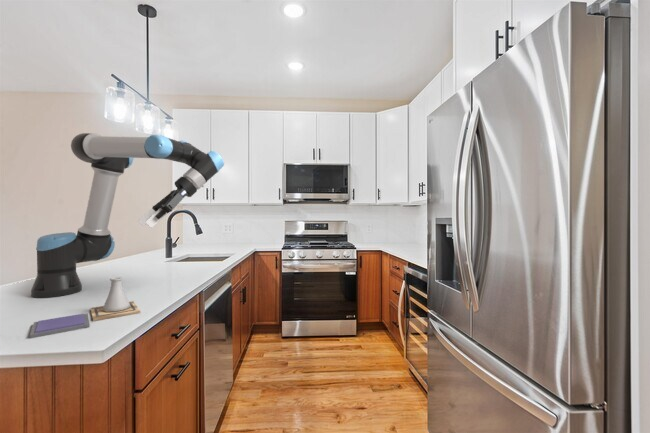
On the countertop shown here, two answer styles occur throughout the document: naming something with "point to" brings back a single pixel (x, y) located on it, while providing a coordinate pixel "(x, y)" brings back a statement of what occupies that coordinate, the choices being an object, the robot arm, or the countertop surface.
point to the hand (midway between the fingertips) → (144, 224)
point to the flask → (116, 297)
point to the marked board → (101, 315)
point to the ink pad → (59, 325)
